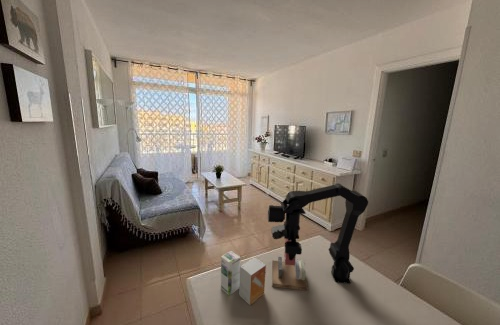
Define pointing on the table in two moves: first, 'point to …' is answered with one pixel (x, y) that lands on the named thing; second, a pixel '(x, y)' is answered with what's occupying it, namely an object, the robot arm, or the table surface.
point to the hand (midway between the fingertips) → (289, 255)
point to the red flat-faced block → (286, 255)
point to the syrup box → (230, 272)
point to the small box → (252, 280)
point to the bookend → (280, 267)
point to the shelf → (286, 277)
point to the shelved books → (299, 269)
